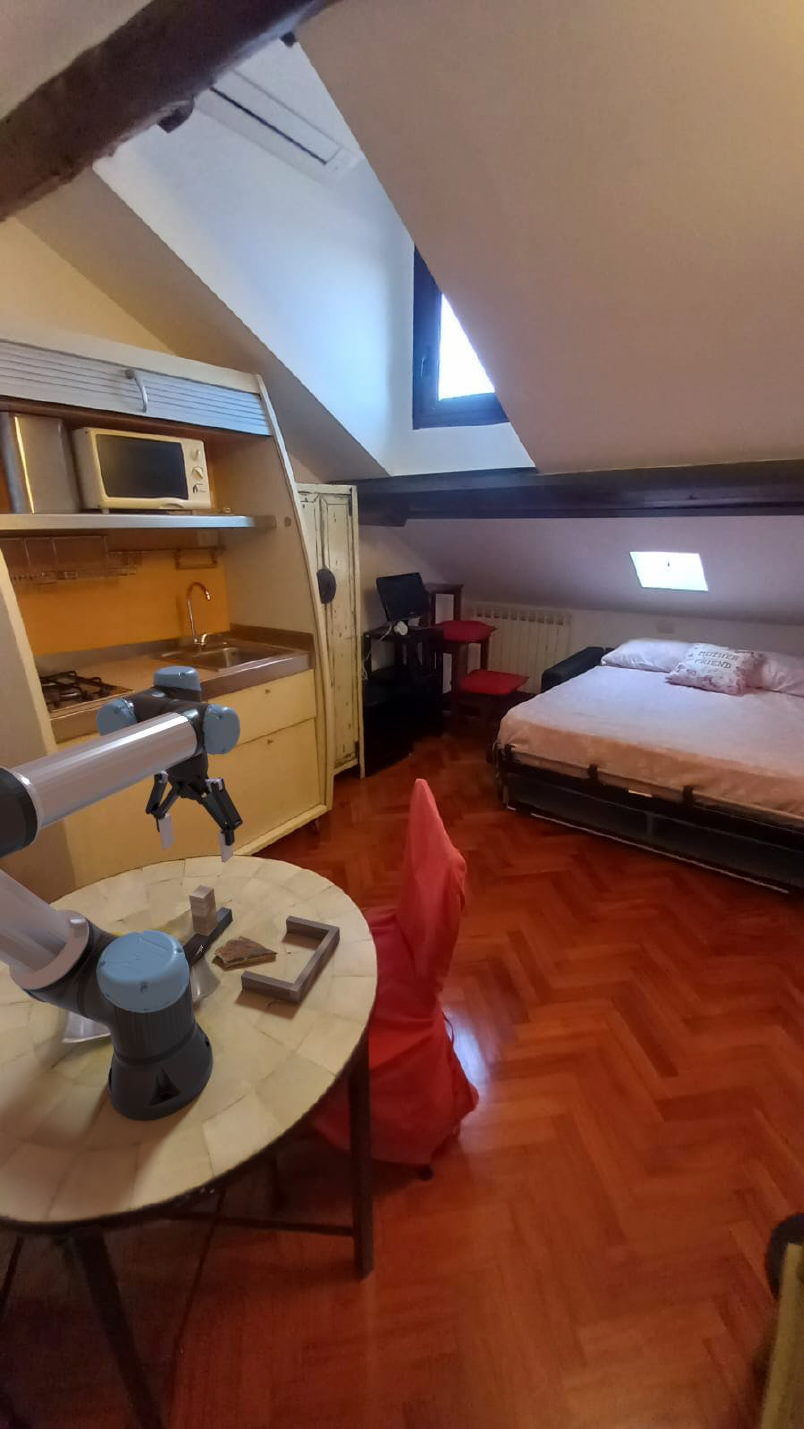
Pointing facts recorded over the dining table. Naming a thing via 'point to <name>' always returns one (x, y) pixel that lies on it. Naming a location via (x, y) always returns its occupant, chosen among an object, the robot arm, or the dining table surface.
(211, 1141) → the dining table surface
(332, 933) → the walnut bay
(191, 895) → the scraper
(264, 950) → the shard
